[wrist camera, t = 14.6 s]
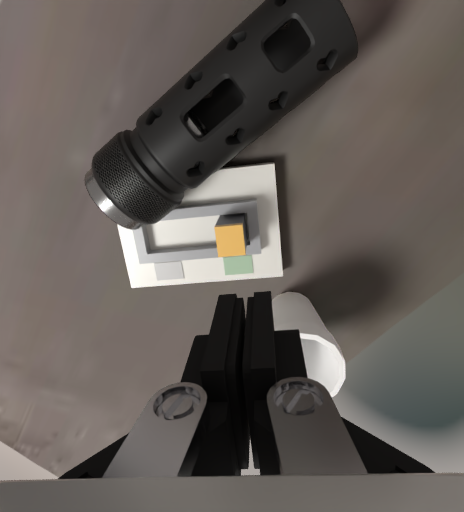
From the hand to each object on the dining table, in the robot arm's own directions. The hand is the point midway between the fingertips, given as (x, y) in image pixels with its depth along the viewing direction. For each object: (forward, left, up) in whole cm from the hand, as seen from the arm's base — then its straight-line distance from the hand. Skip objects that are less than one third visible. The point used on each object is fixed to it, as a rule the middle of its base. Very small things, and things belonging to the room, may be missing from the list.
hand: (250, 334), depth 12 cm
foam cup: (-3, +18, -35) cm, 40 cm away
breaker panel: (+8, +5, -35) cm, 36 cm away
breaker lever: (+4, +5, -33) cm, 34 cm away
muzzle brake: (+4, -8, -35) cm, 36 cm away
